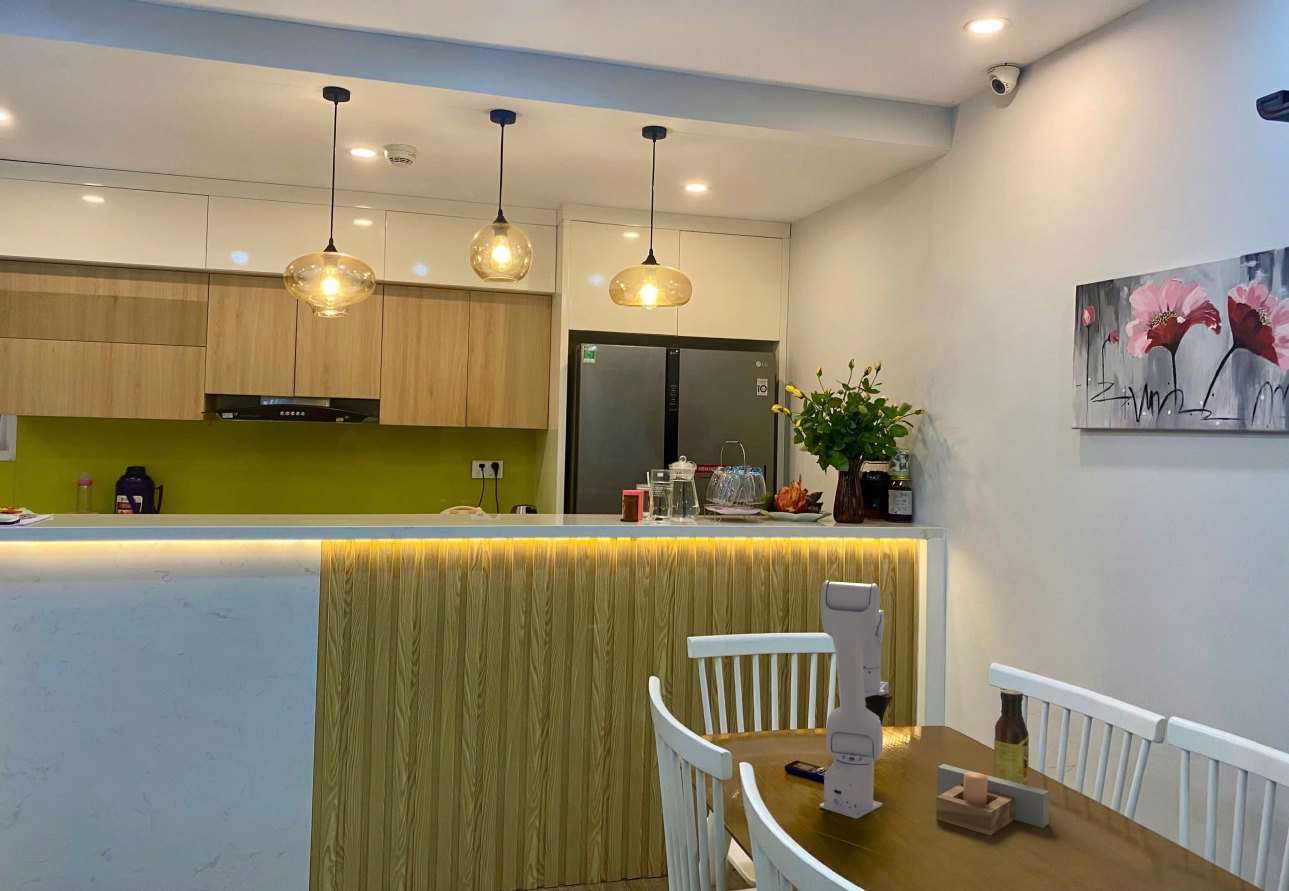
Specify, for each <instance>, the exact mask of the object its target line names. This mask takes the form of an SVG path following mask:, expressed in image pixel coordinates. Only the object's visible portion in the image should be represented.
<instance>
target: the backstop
mask: <svg viewBox="0 0 1289 891" xmlns="http://www.w3.org/2000/svg"><path fill="white" fill-rule="evenodd" d="M966 772H974V771H973V770H968V769H964V768H960V767H957V766H952V765H949V764H946V763H942V764H941V765H938V766H937V773H936V774H937V779H936V780H937V782H936V783H937V786H936V787H937V790H936V797H937V796H939V795H941V794H943V793H945V792H947V791H949V790H950V789H952V788H954V787H956V786H958V785H960V784H964V773H966ZM985 775H986V776H987V777H988V782H987V790H988V791H991V792H995V793H999V794H1002V795H1006V796H1010V797H1014V820H1013V821H1019V822H1022V823H1024V824H1028V825H1031V826H1036V827H1039V828H1042V829H1043V828H1045V827H1047V826H1048V825H1049V816H1050V815H1049V810H1050V809H1049V808H1050V807H1049V806H1050V805H1049V804H1050V798H1049V797H1050V791H1049V790H1045V789H1042V788H1039V787H1035V786H1030V785H1028V786H1027V785H1023V784H1019V783H1015V782H1012V781H1008V780H1004V779H1000V778H996V777H994V776H991V775H987V774H985Z"/></svg>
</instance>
